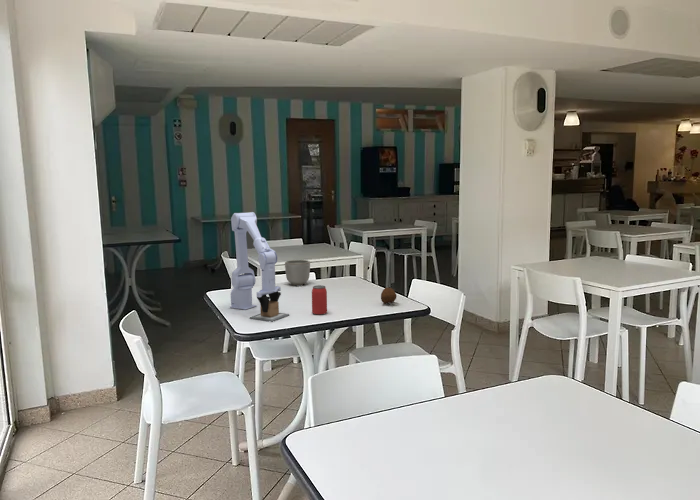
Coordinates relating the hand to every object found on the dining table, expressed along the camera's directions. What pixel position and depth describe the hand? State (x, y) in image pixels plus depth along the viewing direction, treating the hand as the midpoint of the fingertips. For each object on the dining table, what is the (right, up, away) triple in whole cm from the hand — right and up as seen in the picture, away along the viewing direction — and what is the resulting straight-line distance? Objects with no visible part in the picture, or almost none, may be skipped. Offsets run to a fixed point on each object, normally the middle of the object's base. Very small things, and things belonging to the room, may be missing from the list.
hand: (269, 310), depth 236 cm
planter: (+6, +6, +69) cm, 70 cm away
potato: (+53, 0, +22) cm, 57 cm away
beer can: (+21, -2, +6) cm, 22 cm away
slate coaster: (0, -3, 0) cm, 3 cm away
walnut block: (0, -2, 0) cm, 2 cm away
